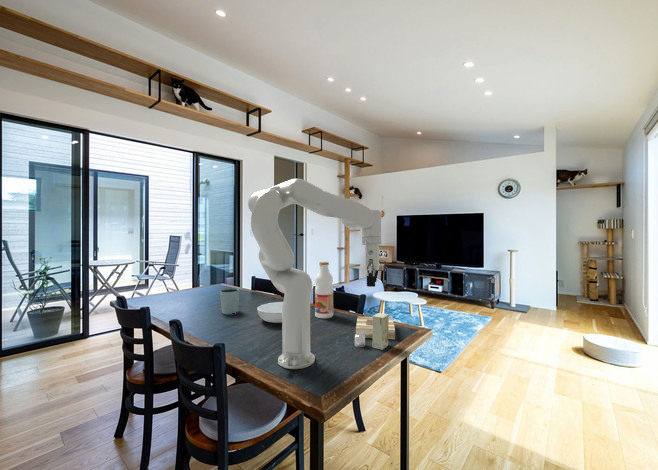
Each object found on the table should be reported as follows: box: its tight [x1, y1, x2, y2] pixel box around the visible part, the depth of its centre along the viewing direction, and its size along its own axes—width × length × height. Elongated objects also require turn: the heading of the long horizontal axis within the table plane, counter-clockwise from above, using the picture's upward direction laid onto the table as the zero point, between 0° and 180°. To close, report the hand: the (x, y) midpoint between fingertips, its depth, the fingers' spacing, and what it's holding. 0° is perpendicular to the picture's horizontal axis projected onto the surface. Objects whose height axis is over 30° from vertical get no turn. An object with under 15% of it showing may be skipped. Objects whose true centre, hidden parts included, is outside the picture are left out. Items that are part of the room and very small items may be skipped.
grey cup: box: [219, 288, 240, 315], centre depth 163 cm, size 10×10×12 cm
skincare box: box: [371, 312, 390, 351], centre depth 116 cm, size 6×4×12 cm
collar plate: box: [355, 316, 396, 340], centre depth 132 cm, size 16×16×4 cm
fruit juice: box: [314, 261, 334, 319], centre depth 155 cm, size 9×9×28 cm
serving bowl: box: [256, 301, 283, 324], centre depth 149 cm, size 21×21×7 cm
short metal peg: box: [354, 333, 366, 348], centre depth 117 cm, size 4×4×4 cm
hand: (371, 283), depth 120 cm, fingers open, 9 cm apart
